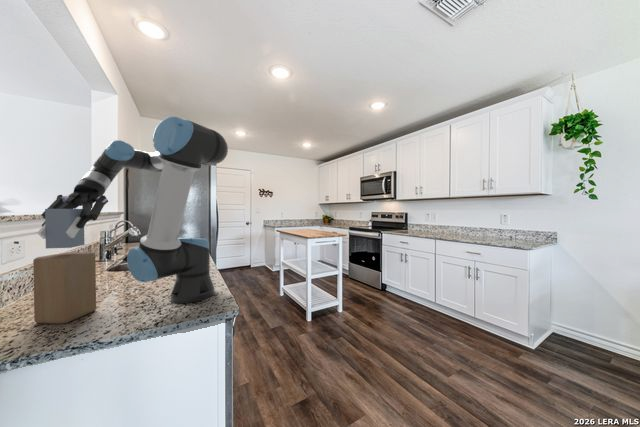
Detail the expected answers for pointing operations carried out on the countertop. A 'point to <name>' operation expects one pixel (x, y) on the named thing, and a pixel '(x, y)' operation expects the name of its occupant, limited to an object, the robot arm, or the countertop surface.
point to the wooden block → (64, 286)
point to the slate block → (62, 228)
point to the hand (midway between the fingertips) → (56, 235)
